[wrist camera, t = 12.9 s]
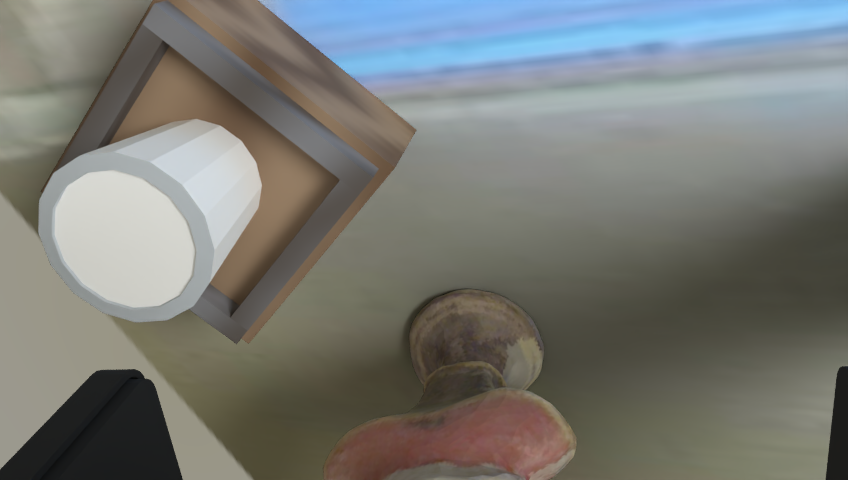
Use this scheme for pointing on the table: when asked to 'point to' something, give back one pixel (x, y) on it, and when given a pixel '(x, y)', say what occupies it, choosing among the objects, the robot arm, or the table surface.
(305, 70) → the display riser
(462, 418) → the decorative bust
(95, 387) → the robot arm
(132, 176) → the white short cylinder
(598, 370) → the table surface
